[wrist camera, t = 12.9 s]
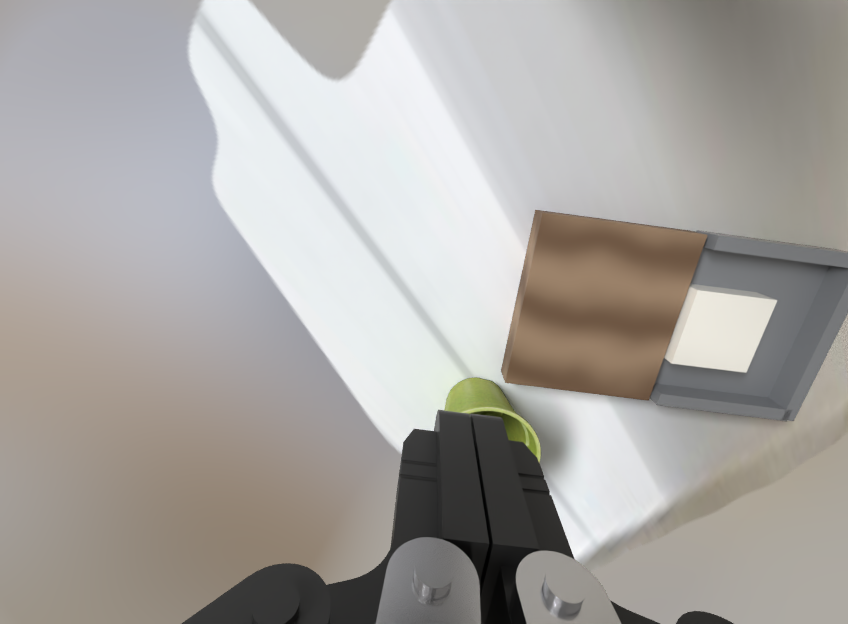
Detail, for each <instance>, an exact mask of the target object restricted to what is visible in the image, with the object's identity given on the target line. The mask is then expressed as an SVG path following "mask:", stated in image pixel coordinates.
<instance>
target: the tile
mask: <svg viewBox="0 0 848 624" xmlns="http://www.w3.org/2000/svg"><path fill="white" fill-rule="evenodd" d="M776 303H777V300H776V299H773V298H770V297H768V296H765V295H762V294H760V293H757V292H751V291H743V290H735V289H728V288H720V287H712V286H704V285H696V284H690V286H689V288H688V291H687V294H686V297H685V300H684V302H683V305H682V308H681V311H680V314H679V316H678V319H677V322H676V325H675V328H674V330H673V333H672V336H671V339H670V342H669V344H668V347H667V350H666V353H665V356H664V358H665V359H666V360H668V361H669V362H670V363H671V364H679V365H687V366H696V367H704V368H712V369H720V370H728V371H736V372H745V373H746V372H747V370H748V368H749V365H750V363H751V361H752V358H753V356H754V354H755V351H756V349H757V347H758V345H759V342H760V340H761V338H762V335H763V333H764V331H765V328H766V326H767V324H768V321H769V319H770V317H771V314H772V312H773V310H774V307H775V305H776Z"/></svg>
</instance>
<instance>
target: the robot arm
mask: <svg viewBox="0 0 848 624" xmlns="http://www.w3.org/2000/svg"><path fill="white" fill-rule="evenodd" d="M549 492H550V491H549V489H548V486H547V483H546V480H544V475H543V472H542V469H541V467H540V464H539V461H538V459H537V457H536V456H535V455H534V454H533V453H532V452H531V450H530V449H529V448H528V447H527V446H526V445H525V444H524V443H523V442H519V441H511V440H508V436H507V433H506V429H505V425H504V422H503V419H502V418H501V417H494V416H486V415H478V414H470V415H469V414H468V413H461V412H452V411H444V410H438V412H437V416H436V422H435V428H434V431H427V430H419V429H414V430H413V431H412V432H411V433H410V435H409V436H408V437H407V438H406V440H405V441H404V442H403V450H402V457H401V465H400V472H399V480H398V488H397V495H396V503H395V513H394V521H393V531H392V540H391V548H390V551H389V552H388V554H387V556H386V557H385V559H384V560H383V561H382V562H381V564H379V565H378V566H377V567H376V568H375V569H373V570H372V571H370V572H369V573H367V574H365V575H363V576H360V577H358V578H354V579H351V580H347V581H342V582H338V583H333V584H329V585H326V584H325V583H324V581H323V580H322V579H321V577H320V576H319V575H318V574H316V572H314V571H313V570H311V569H309V568H307V567H305V566H301V565H298V564H277V565H272V566H269V567H266V568H263V569H261V570H259V571H257V572H255V573H253V574H252V575H250V576H248V577H247V578H246V579H244V580H243V581H241V582H240V583H239V584H237V585H236V586H234V587H233V588H231V589H230V590H229V591H227V592H226V593H224V594H223V595H221V596H220V597H219V598H217V599H216V600H215V601H213V602H212V603H210V604H209V605H207V606H206V607H204V608H203V609H202V610H200V611H199V612H197V613H196V614H195V615H193V616H192V617H190V618H189V619H188V620H186V621H185V622H183V623H182V624H660V623H657V622H655V621H652V620H650V619H648V618H645V617H643V616H641V615H638V614H636V613H633V612H631V611H629V610H626V609H625V608H623V607H621V606H619V605H617V604H615V603H614V602H612V601H610V599H609V597H608V595H607V593H606V591H605V590H604V588H603V586H602V585H601V583H600V582H599V581H598V579H597V578H596V577H595V576H594V575H593V574H592V573H591V572H590V571H589V570H588V569H587V568H586V567H585V566H583V565H582V564H581V563H579V562H578V561H576V560H575V559H574V557H573V554H572V551H571V549H570V546H569V543H568V540H567V538H566V535H565V532H564V530H563V527H562V524H561V521H560V519H559V516H558V513H557V510H556V508H555V505H554V502H553V500H552V497H551V495H549ZM676 624H733V623H732V622H730V621H728V620H726V619H724V618H722V617H719V616H717V615H714V614H711V613H707V612H700V611H693V612H688V613H686V614H683V615H682V616H681V617H680V618H679V619H678V621H677V623H676Z"/></svg>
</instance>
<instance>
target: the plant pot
mask: <svg viewBox="0 0 848 624" xmlns="http://www.w3.org/2000/svg"><path fill="white" fill-rule="evenodd" d="M444 411H452V412H461V413H468V414H469V415H470V414H478V415H486V416H494V417H501V418H502V419H503V422H504V425H505V429H506V433H507V436H508V440H511V441H519V442H523V443H524V444H525V445H526V446H527V447H528V448H529V449H530V450H531V452H532V453H533V454H534V455H535V456H536V457H537V459H538V461H539V463H540V458H541V447H540V442H539V439H538V437H537V434H536V433H535V431H534V429H533V428H532V426H531V425H530V424H529V423H528V422H527V421H526V420H525V419H524V418H522V417H521V416H520V415H518V414H516V413H515V411H514V410H513V408H512V407H511V405H510V403H509V402H508V400H507V399H506V397H505V395H504V394H503V392H502V391H501V389H500V388H499V387H498V386H497V385H496V384H495V383H493V382H492V381H489V380H484V379H480V378H469V379H465V380H463V381H461V382H459V383H457V384H456V385H455V386H454V387H453V388H452V389H451V391H450V392H449V394H448V397H447V400H446V405H445V410H444Z"/></svg>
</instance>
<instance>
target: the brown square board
mask: <svg viewBox="0 0 848 624" xmlns="http://www.w3.org/2000/svg"><path fill="white" fill-rule="evenodd" d="M706 238H707V235H706V234H702V233H697V232H693V231H688V230H681V229H673V228H666V227H659V226H651V225H644V224H636V223H629V222H622V221H614V220H607V219H600V218H592V217H585V216H577V215H570V214H563V213H555V212H548V211H540V210H535V214H534V219H533V224H532V228H531V233H530V238H529V242H528V247H527V252H526V256H525V261H524V266H523V270H522V275H521V280H520V284H519V289H518V294H517V298H516V303H515V308H514V312H513V317H512V322H511V326H510V331H509V336H508V340H507V345H506V350H505V354H504V359H503V364H502V369H501V372H502V375H503V378H504V380H505V383H512V384H520V385H528V386H536V387H544V388H552V389H560V390H568V391H576V392H584V393H592V394H600V395H608V396H616V397H624V398H633V399H641V400H649V398H650V395H651V392H652V389H653V386H654V384H655V381H656V378H657V375H658V372H659V370H660V367H661V364H662V361H663V358H664V356H665V353H666V350H667V347H668V344H669V342H670V339H671V336H672V333H673V330H674V328H675V325H676V322H677V319H678V316H679V314H680V311H681V308H682V305H683V302H684V300H685V297H686V294H687V291H688V288H689V286H690V283H691V280H692V277H693V274H694V272H695V269H696V266H697V263H698V260H699V258H700V255H701V252H702V249H703V246H704V244H705V241H706Z"/></svg>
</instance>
